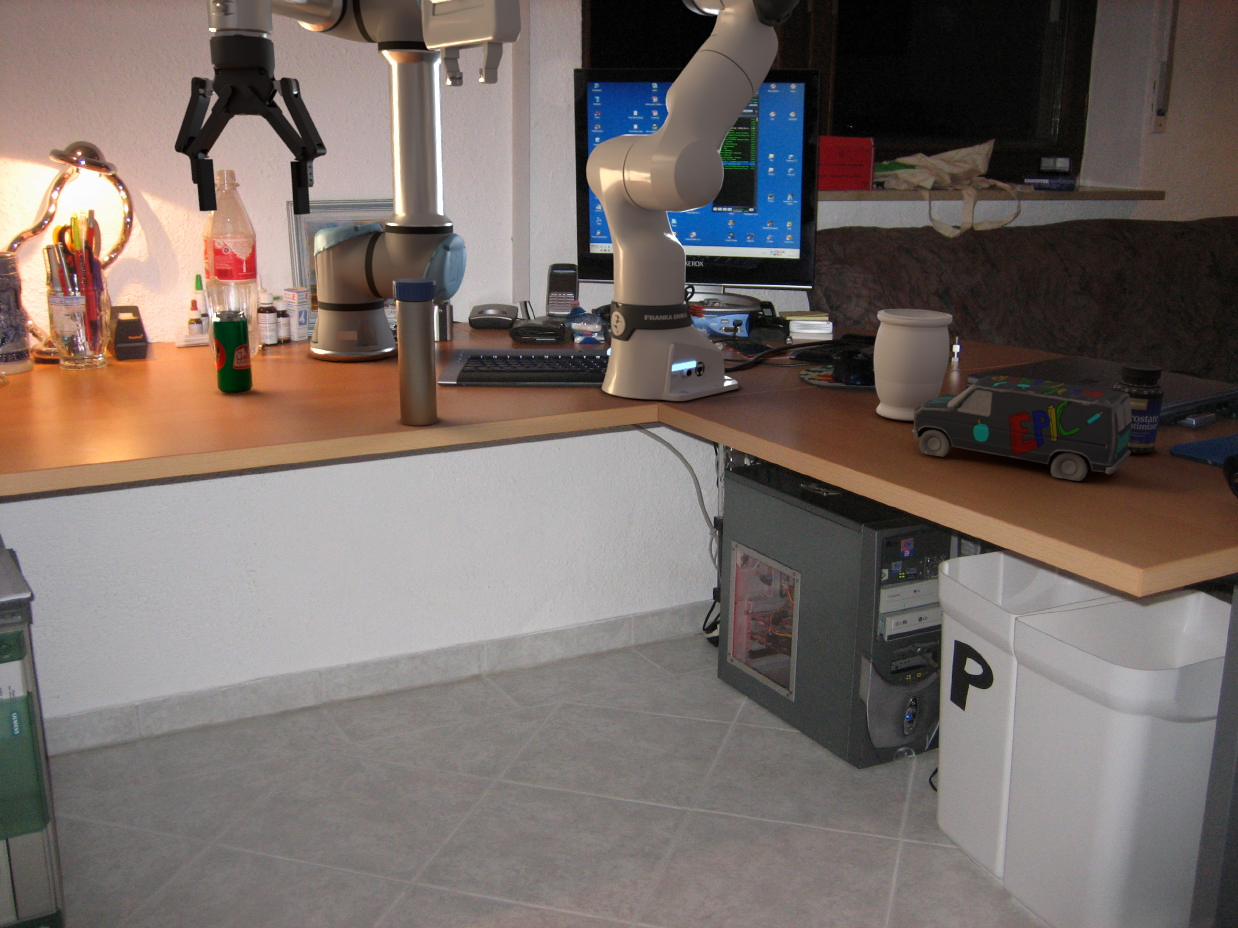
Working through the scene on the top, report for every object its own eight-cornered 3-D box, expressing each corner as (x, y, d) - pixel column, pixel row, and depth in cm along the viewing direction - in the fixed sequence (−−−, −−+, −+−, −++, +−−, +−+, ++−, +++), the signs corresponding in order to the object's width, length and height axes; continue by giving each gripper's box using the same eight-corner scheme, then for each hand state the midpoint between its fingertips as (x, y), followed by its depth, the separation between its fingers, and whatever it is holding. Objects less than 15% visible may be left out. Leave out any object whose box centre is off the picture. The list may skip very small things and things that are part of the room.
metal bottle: (416, 427, 145) (411, 286, 140) (393, 421, 148) (387, 283, 143) (444, 421, 149) (440, 283, 143) (421, 415, 152) (416, 280, 146)
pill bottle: (1117, 454, 138) (1130, 370, 135) (1094, 442, 144) (1106, 361, 140) (1163, 454, 138) (1177, 370, 135) (1139, 442, 144) (1152, 361, 141)
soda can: (241, 395, 161) (235, 315, 157) (211, 393, 162) (204, 314, 158) (259, 388, 165) (253, 311, 162) (229, 386, 166) (223, 309, 163)
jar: (854, 409, 159) (862, 309, 155) (910, 404, 163) (920, 306, 159) (898, 426, 150) (909, 320, 146) (957, 420, 154) (969, 317, 150)
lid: (412, 302, 140) (411, 284, 139) (384, 297, 143) (383, 280, 142) (445, 298, 144) (444, 280, 143) (417, 294, 147) (416, 276, 147)
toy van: (934, 435, 146) (942, 362, 143) (1130, 468, 132) (1143, 388, 129) (905, 451, 137) (912, 375, 134) (1110, 488, 123) (1124, 404, 121)
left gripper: (134, 34, 131) (152, 210, 137) (317, 32, 126) (327, 217, 132) (172, 40, 138) (188, 208, 144) (347, 39, 133) (356, 214, 139)
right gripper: (533, -40, 127) (533, 83, 130) (455, -21, 143) (457, 89, 146) (486, -47, 123) (487, 80, 127) (411, -26, 139) (415, 86, 143)
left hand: (254, 213), depth 138 cm, fingers open, 13 cm apart
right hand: (471, 85), depth 137 cm, fingers open, 8 cm apart
